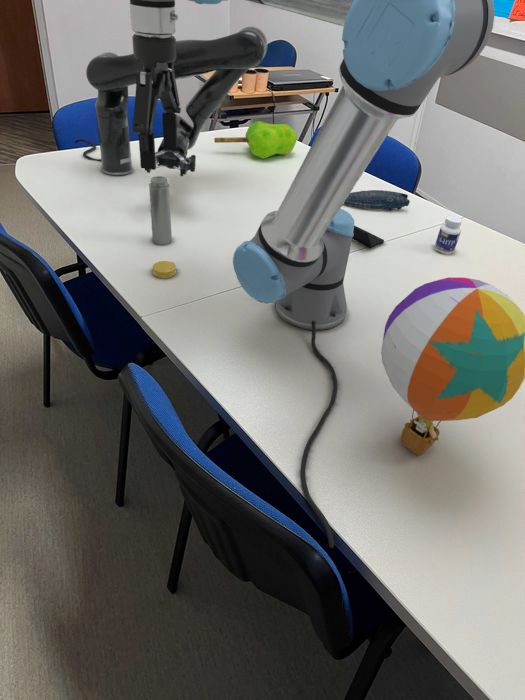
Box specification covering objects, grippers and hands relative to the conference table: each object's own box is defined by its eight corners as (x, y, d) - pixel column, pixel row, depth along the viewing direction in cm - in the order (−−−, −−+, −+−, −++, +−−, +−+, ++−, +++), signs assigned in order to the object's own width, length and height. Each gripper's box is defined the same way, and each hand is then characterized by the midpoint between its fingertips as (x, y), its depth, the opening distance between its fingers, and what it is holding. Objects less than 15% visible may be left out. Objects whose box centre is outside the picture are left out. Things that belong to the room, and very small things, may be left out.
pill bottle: (433, 251, 139) (442, 220, 133) (435, 243, 143) (444, 213, 137) (453, 256, 138) (464, 225, 132) (454, 247, 142) (465, 217, 136)
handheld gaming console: (388, 234, 141) (380, 212, 133) (377, 256, 140) (367, 236, 131) (351, 226, 147) (341, 204, 139) (340, 247, 146) (329, 227, 138)
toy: (330, 436, 84) (367, 277, 66) (403, 387, 95) (453, 238, 76) (431, 520, 73) (510, 357, 55) (500, 454, 84) (586, 299, 65)
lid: (171, 280, 118) (171, 274, 117) (149, 276, 119) (149, 270, 118) (179, 269, 122) (179, 263, 121) (157, 265, 123) (157, 259, 122)
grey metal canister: (155, 235, 135) (151, 174, 125) (173, 237, 135) (171, 176, 125) (150, 243, 131) (146, 181, 121) (169, 245, 131) (166, 183, 121)
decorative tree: (211, 117, 187) (292, 117, 193) (212, 147, 194) (290, 146, 199) (217, 132, 174) (304, 131, 179) (217, 163, 180) (301, 162, 186)
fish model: (408, 214, 157) (412, 198, 153) (339, 207, 158) (341, 191, 154) (406, 206, 162) (410, 190, 159) (339, 199, 163) (341, 183, 160)
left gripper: (147, 133, 142) (135, 153, 129) (199, 138, 143) (193, 159, 130) (148, 160, 147) (137, 182, 134) (198, 166, 148) (192, 187, 135)
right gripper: (150, 47, 80) (157, 181, 94) (194, 27, 100) (195, 141, 113) (104, 42, 81) (117, 175, 94) (156, 23, 101) (161, 136, 114)
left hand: (164, 170), depth 132 cm, fingers open, 8 cm apart
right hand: (160, 157), depth 104 cm, fingers open, 13 cm apart
